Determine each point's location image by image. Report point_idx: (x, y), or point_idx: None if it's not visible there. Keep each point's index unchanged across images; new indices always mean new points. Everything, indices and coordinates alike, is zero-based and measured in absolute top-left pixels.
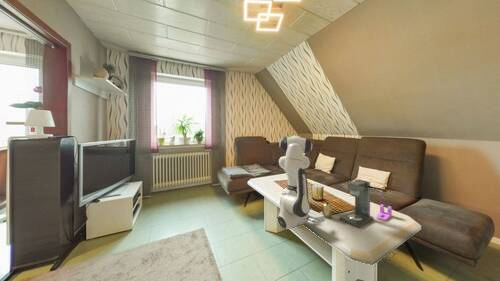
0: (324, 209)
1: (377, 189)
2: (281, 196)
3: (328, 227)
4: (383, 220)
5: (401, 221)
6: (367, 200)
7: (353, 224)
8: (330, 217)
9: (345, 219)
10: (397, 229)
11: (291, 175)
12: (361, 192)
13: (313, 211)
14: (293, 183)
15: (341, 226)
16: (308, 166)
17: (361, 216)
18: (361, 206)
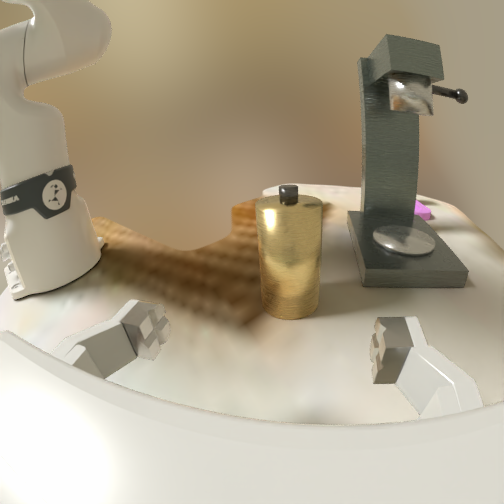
0: (277, 258)
1: (445, 93)
2: (7, 271)
3: (407, 414)
4: (429, 217)
5: (439, 207)
6: (417, 145)
7: (444, 279)
8: (318, 299)
9: (403, 270)
10: (477, 231)
11: (4, 115)
12: (393, 112)
13: (367, 489)
14: (19, 162)
15: (430, 331)
16: (103, 47)
17: (402, 225)
18: (393, 180)
